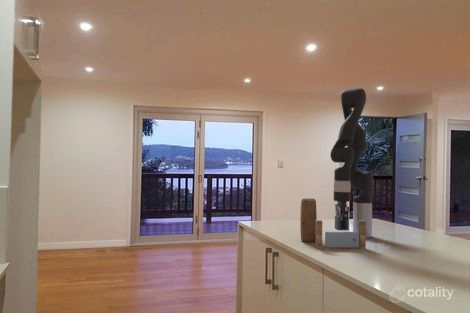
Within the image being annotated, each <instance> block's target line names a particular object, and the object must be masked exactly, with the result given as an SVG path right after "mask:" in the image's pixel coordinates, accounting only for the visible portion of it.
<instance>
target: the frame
mask: <svg viewBox="0 0 470 313" xmlns="http://www.w3.org/2000/svg"><path fill="white" fill-rule="evenodd" d="M358 232H359V248H355V247H325V246H323V220H321V219H317V220H316V241H315V248H316V250H318V249H319V250H322V249H324V250H327V249H328V250H329V249H330V250H331V249H332V250H335V249H339V250H340V249H342V250H344V249H345V250H348V249H350V250H352V249H355V250H358V249H359V250H366V249H367V246H366V243H367V238H366V221H364V220H359V224H358Z"/></svg>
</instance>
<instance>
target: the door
mask: <svg viewBox="0 0 470 313" xmlns="http://www.w3.org/2000/svg"><path fill="white" fill-rule="evenodd" d="M324 235H325V236H324V237H325V238H324V247H355V248H359V232H353V231H325V232H324Z"/></svg>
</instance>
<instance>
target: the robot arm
mask: <svg viewBox="0 0 470 313" xmlns="http://www.w3.org/2000/svg"><path fill="white" fill-rule="evenodd" d="M340 101H341V108H342V112H343V114H342V115H343V119H344V121H343V122H342V124H341V126H340V129H339V131H338V132H339V133H338V136H337V139H336V141H335V143H334V144H333V145H332V149H331V150H330V159H331V161H332V162H333V163H335V164H336V163H339V164H340V163H341V164H342V163H343V165H342V166H340V167H337V168H335V169H334V176H333V178H334V180H333V182H334V183H333V201H334V202H337V203H335V207H334V208H335V216H341V229H346V221H347V220H348V217H349V214H350V207H349V206H348V205H347V202H349V203H350V202H351V201H352V205H353V206H352V208H353V210H352V214H353V215H352V216H353V217H352V221H353V222H352V227H353V228H352V232H358V224H359V220H364V221H366V239H369V238H372V237H373V188H374V175H373V173H372V171H369V170H365V171H364V170H359V169H358V168H359V166H358V164H359V161H360V159H361V158H362V156H363V154H364V152H365V150H366V149H367V140H366V139H367V137H366V132H365V130H364V129H363V127H362V125H361V124H360V123H359V121H360V119H361V116H362V113H363V110H364V108H365V105H366V102H367V93H366V91H365V89H364V88H360V87H359V88H349V89H344V90H342V91H341V94H340ZM351 189H356V190H363V192H362V193H361V194H359V195H355V196H353V197H351V195H352V193H351V191H352V190H351ZM351 199H352V200H351ZM344 216H345V217H344Z"/></svg>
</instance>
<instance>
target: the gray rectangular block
mask: <svg viewBox="0 0 470 313" xmlns="http://www.w3.org/2000/svg"><path fill="white" fill-rule="evenodd" d="M344 217H345V216H344ZM334 229H335V230H337V231H347V232H350V217H349V216H348V220H347V221H346V229H341V216H336V215H334Z"/></svg>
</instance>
